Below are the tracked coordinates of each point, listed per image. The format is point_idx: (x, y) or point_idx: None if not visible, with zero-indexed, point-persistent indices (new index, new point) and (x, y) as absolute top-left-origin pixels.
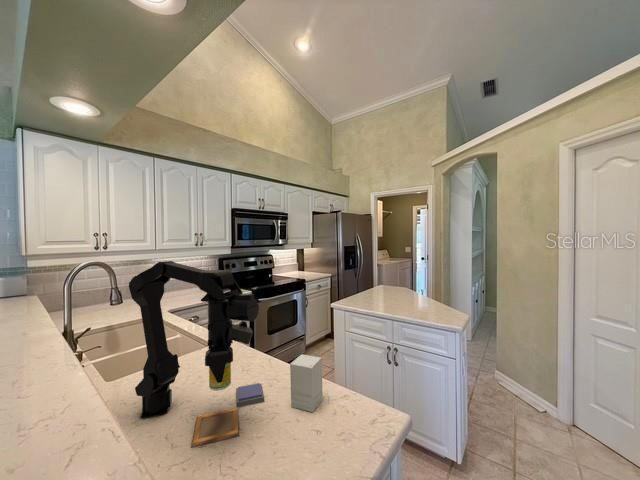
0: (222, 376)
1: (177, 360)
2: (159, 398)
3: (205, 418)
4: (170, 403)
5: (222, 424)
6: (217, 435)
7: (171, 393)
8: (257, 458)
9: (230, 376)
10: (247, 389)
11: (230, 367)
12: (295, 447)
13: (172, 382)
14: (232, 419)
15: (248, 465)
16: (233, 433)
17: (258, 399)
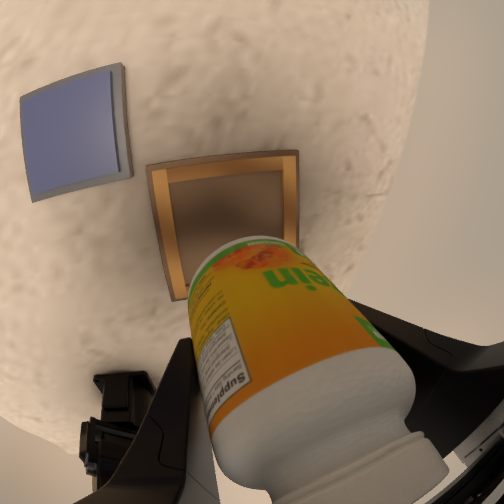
0: (382, 315)
1: (103, 482)
2: (145, 414)
3: (186, 273)
4: (120, 379)
5: (232, 211)
6: (287, 218)
7: (107, 397)
8: (380, 113)
9: (285, 257)
10: (54, 146)
11: (318, 300)
12: (372, 28)
13: (96, 419)
14: (215, 179)
15: (389, 135)
16: (295, 170)
17: (122, 86)
